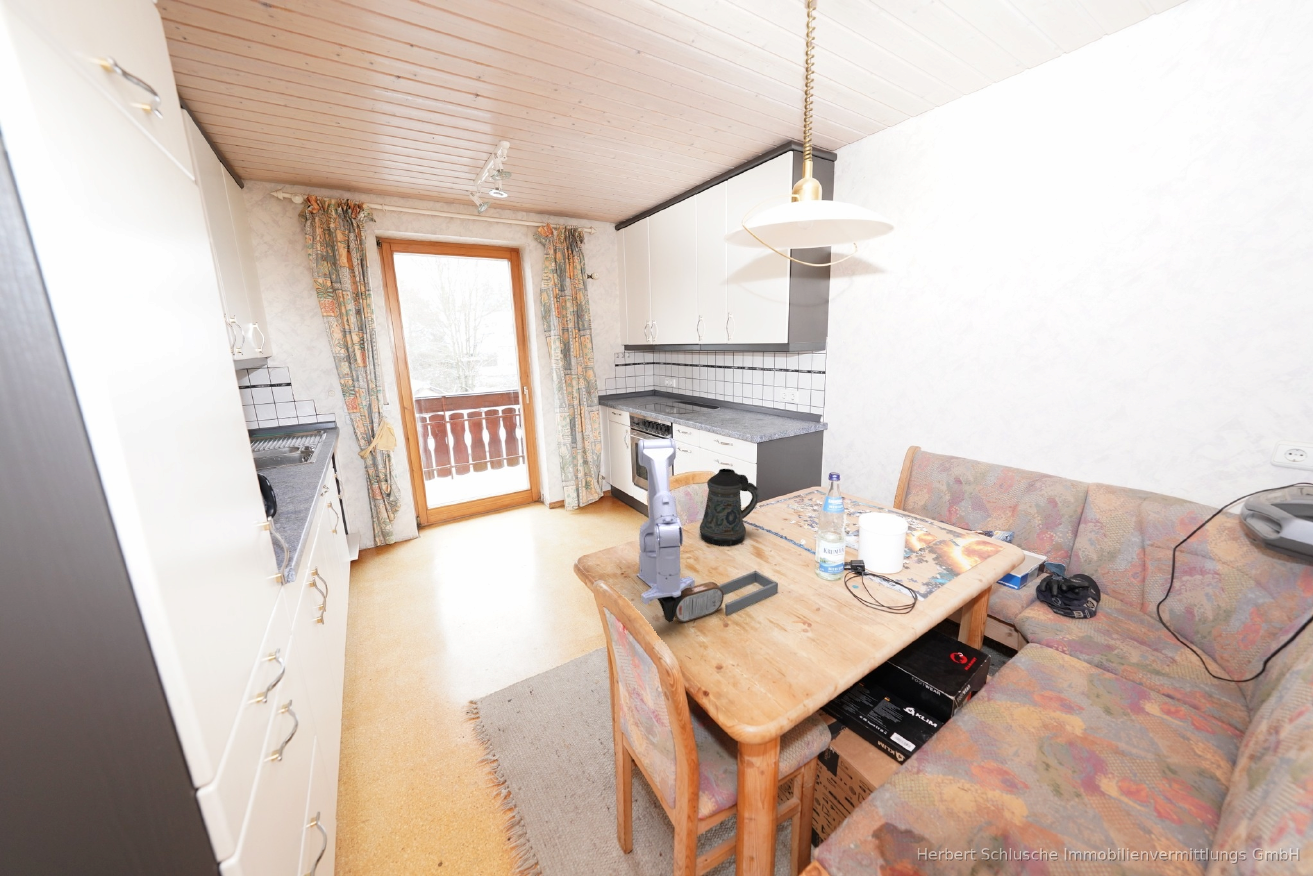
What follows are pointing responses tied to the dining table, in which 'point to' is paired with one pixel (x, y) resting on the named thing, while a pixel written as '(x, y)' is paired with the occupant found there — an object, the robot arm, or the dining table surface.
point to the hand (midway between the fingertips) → (669, 620)
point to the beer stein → (726, 508)
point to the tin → (699, 601)
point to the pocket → (751, 598)
